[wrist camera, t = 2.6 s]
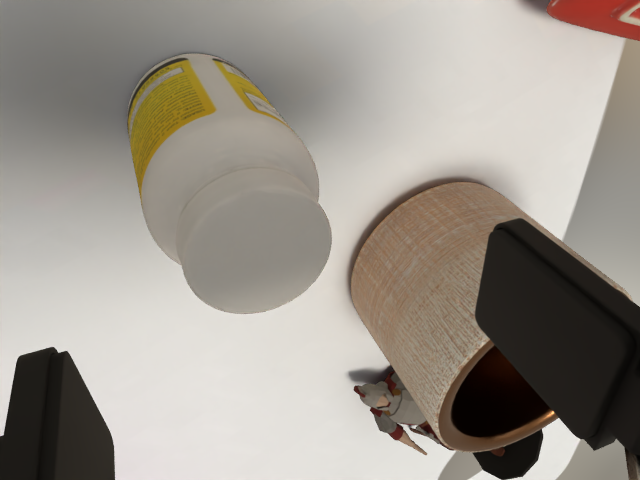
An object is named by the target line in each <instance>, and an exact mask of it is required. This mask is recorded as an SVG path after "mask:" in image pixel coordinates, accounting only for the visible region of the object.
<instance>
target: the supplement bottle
mask: <svg viewBox="0 0 640 480" xmlns="http://www.w3.org/2000/svg"><path fill="white" fill-rule="evenodd" d="M127 127H128V134H129V140H130V146H131V153H132V158H133V163H134V168H135V173H136V177H137V182H138V187H139V193H140V198H141V205H142V209H143V214H144V217H145V220H146V224H147V226H148V229H149V231H150V233H151V235H152V237H153V239H154V240H155V242H156V243H157V245H158V246H159V247H160V248H161V249H162V251H163V252H164V253H165V254H166V255H168V256H169V257H170V258H171V259H172V260H174V261H175V262H177V263H178V264H180V265H182V268H183V272H184V275H185V278H186V280H187V283H188V285H189V286H190V288H191V289H192V291H193V292H194V293H195V295H196V296H197V297H198V298H199V299H201V300H202V301H203V302H205V303H206V304H208V305H210V306H211V307H213V308H215V309H218V310H221V311H224V312H229V313H237V314H251V313H259V312H265V311H268V310H271V309H274V308H277V307H279V306H282V305H284V304H286V303H288V302H290V301H292V300H293V299H295V298H296V297H298V296H299V295H300V294H302V293H303V292H304V291H306V290H307V289H308V288H309V287H310V286H311V285H312V284H313V283H314V282H315V280H316V279H317V278H318V276H319V275H320V273H321V272H322V270H323V268H324V266H325V264H326V262H327V260H328V257H329V254H330V250H331V244H332V234H331V227H330V224H329V221H328V218H327V216H326V214H325V212H324V210H323V209H322V208H321V206H320V205H319V203H318V199H319V181H318V174H317V170H316V166H315V163H314V161H313V159H312V157H311V155H310V153H309V151H308V150H307V148H306V147H305V145H304V143H303V142H302V141H301V139H300V138H299V137H298V136H297V135H296V134H295V132H294V131H293V130H292V129H291V128H290V127H289V125H288V124H287V123H286V122H285V120H284V119H283V118H282V117H281V115H280V114H279V113H278V112H277V111H276V110H275V109H274V107H273V106H272V105H271V104H270V103H269V101H268V100H267V99H266V98H265V97H264V95H263V94H262V93H261V92H260V91H259V90H258V88H257V87H256V86H255V85H254V84H253V82H252V81H251V80H250V79H249V78H248V77H247V76H246V75H245V74H244V73H243V72H242V71H241V70H239V69H238V68H237V67H235V66H234V65H232V64H231V63H229V62H227V61H225V60H223V59H221V58H218V57H215V56H211V55H206V54H183V55H179V56H175V57H172V58H169V59H167V60H164V61H162V62H161V63H159V64H157V65H156V66H154V67H153V68H151V69H150V70H149V71H148V72H147V73H146V74H145V75H144V76H143V77H142V78H141V80H140V81H139V82H138V84H137V86H136V87H135V89H134V91H133V93H132V96H131V98H130V101H129V106H128V113H127Z"/></svg>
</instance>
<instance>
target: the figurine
mask: <svg viewBox="0 0 640 480" xmlns="http://www.w3.org/2000/svg"><path fill="white" fill-rule="evenodd" d="M354 391H355V392H356V393H357V394H359V395H360V399H361V400H362V401H363V403H365V404H366V405H368V406H370V407H371V409H370V411H371V412H372V413H373V414H374V417H375V421H376V423H377V425H378V427H379V430H380V431H383V432H385V433H388V434H389V435H390V436H391V437H392V438H393V439H394V440H399V441H401V442H402V443H404V444H407V445H408V446H410V447H413V448H414V449H416V450H418V451H419V452H421V453H423V454H424V455H427V453H426V452H425V451H424V450H422V449H421V448H420V447H419V446H418V445H416V444H415V443H414V441H412V440H411V439H410V438H409V436H408V434H407V433H406V431H405V430H403V427H402V426H401V425H399V424H397V423H400V424H406V425H418V426H417V427H416V429H417V430H416V429H412V428H409V429H410V430H411V431H413V432H415V433H418V434H421V435H424V436H427V437H429V438H430V439H432V440H434V441H435V442H436V443H437V444H441V445H442V446H444V447H445V448H447V449H449V450H453V449H450V448H449V447H447V446H445V445H444V444H443V443H442V442H441V441H440V439H439V438H438V437H437V435H436V434H435V432H434V431H433V429H432V427H431V426H430V424H429V423H428V421H427V420H426V418H425V416H424V415H423V413H422V412H421V410H420V409H419V407H418V406H417V404H416V402H415V401H414V399H413V398H412V396H411V395H410V393H409V392H408V390H407V389H406V387H405V386H404V384H403V382H402V381H401V379H400V378H399V376H398V375H397V373H396V372H395V370H394V371H393V372H391V373H389V375H388V376H387V378H386V380H385V381H384V382H383V381H380V382H379V383H377V384H376V385H374V384H370V383H369V384H365V385H363V386H355V387H354ZM542 440H543V433H542V429H540V430H539V431H537V432H535V433H533V434H531V435H529V436H527V437H525V438H523V439H521V440H519V441H516V442H514V443H511V444H509V445H506V446H503V447H500V448H496V449H492V450H488V451H482V452H472V453H473V454H474V456H475V457H476V459H477V461H478V462H479V464H480V465H481V467H482V469H483V470H484V471H486V472H488V473H490V474H492V475H494V476H495V477H497V478H499V479H501V480H506V479H512V478H517V477H523V476H524V475H525V474H526V473H527V471H528V470H529V469H530V468H531V467H532V466H533V465H534V464H535V463H536V462H537V461H538V457H539V453H540V449H541V445H542Z"/></svg>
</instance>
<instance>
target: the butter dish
mask: <svg viewBox="0 0 640 480" xmlns="http://www.w3.org/2000/svg"><path fill="white" fill-rule="evenodd" d="M547 13H548V14H549V15H550V16H552V17H553V18H555V19H558V20H560V21H564V22H566V23H570V24H573V25H577V26H580V27H584V28H588V29H591V30H595V31H600V32H604V33H608V34H612V35H616V36H620V37H625V38H629V39H633V40H638V41H640V0H551V1H550V2H549V4H548V6H547Z"/></svg>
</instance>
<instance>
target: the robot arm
mask: <svg viewBox="0 0 640 480" xmlns="http://www.w3.org/2000/svg"><path fill="white" fill-rule="evenodd" d="M475 319H476V322H477V324H478V326H479V327H480V329H481V330H482V331H483V332H484V333H485V334H486V336H487V337H488V338H489V339H490V340H491V341H492V342H493V343H494V345H495V346H496V347H497V348H498V349H499V350H500V351H501V353H502V354H503V355H504V356H505V357H506V358H507V359H508V361H509V362H510V363H511V364H512V365H513V366H514V367H515V368H516V370H517V371H518V372H519V373H520V374H521V375H522V376H523V378H524V379H525V380H526V381H527V382H528V383H529V384H530V385H531V387H532V388H533V389H534V390H535V391H536V392H537V393H538V395H539V396H540V397H541V398H542V399H543V400H544V401H545V403H546V404H547V405H548V406H549V407H550V408H551V409H552V410H553V412H554V413H555V414H556V415H557V416H558V417H559V418H560V420H561V421H562V422H563V423H564V424H565V425H566V426H567V428H568V429H569V430H570V431H571V432H572V433H573V434H574V435H575V436H576V437H578V438H580V439H584V440H585V441H586V442H587V443H588V444H589V445H590V446H591V448H593V450H597V449H599V448H601V447H604V446H606V445H609V444H611V443H613V442H614V441H615V439H617V440H618V441H619V442H620V443H621V444H622V445H623V446H624V447H625V454H626V461H627V469H628V476H629V480H640V307H639V306H638V305H636V304H635V303H634V302H633V301H631V300H630V299H629V298H627V297H626V296H625V295H623V294H622V293H621V292H619V291H618V290H617V289H615V288H614V287H613V286H611V285H610V284H609V283H608V282H606V281H605V280H604V279H602V278H601V277H600V276H598V275H597V274H596V273H594V272H593V271H592V270H590V269H589V268H588V267H587V266H585V265H584V264H583V263H581V262H580V261H579V260H577V259H576V258H575V257H573V256H572V255H571V254H569V253H568V252H567V251H566V250H564V249H563V248H562V247H560V246H559V245H558V244H556V243H555V242H554V241H552V240H551V239H550V238H548V237H547V236H546V235H545V234H543V233H542V232H541V231H539V230H538V229H537V228H535V227H534V226H533V225H531V224H530V223H529V222H527V221H526V220H524V219H522V218H517V219H513V220H509V221H506V222H502V223H499V224H497V225H496V226H495V227H494V229H493V232H491V233H490V234H489V238H488V243H487V249H486V254H485V259H484V265H483V270H482V276H481V281H480V287H479V292H478V298H477V303H476V309H475ZM0 480H115V465H114V445H113V440H112V436H111V433H110V431H109V429H108V427H107V425H106V423H105V421H104V419H103V417H102V415H101V414H100V412H99V410H98V408H97V406H96V404H95V402H94V400H93V398H92V396H91V394H90V392H89V390H88V389H87V387H86V385H85V383H84V381H83V379H82V377H81V375H80V373H79V371H78V369H77V367H76V365H75V364H74V362H73V360H72V358H71V356H70V354H69V353H68V352H67V351H64V352H61V353H58V352H57V350H56V349H55V348H54V347H50V348H46V349H43V350H39V351H36V352H32V353H28V354H25V355H21V356H19V358H18V359H17V363H16V368H15V374H14V380H13V385H12V391H11V397H10V402H9V408H8V414H7V419H6V425H5V431H4V435H3V436H0Z"/></svg>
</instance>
